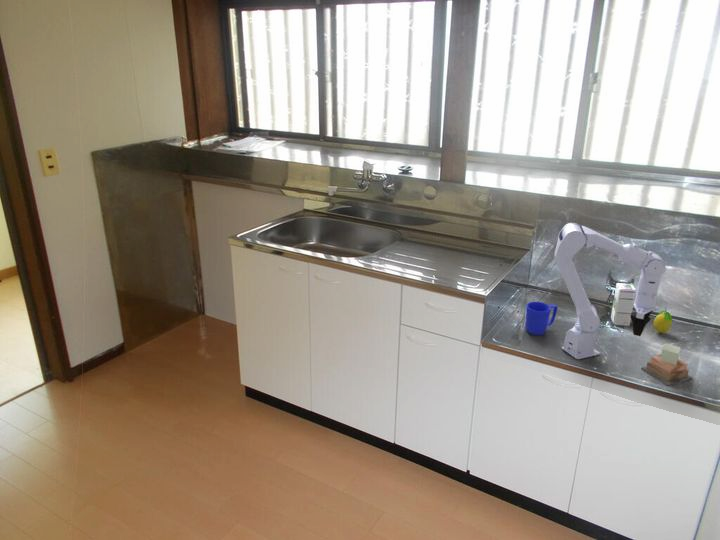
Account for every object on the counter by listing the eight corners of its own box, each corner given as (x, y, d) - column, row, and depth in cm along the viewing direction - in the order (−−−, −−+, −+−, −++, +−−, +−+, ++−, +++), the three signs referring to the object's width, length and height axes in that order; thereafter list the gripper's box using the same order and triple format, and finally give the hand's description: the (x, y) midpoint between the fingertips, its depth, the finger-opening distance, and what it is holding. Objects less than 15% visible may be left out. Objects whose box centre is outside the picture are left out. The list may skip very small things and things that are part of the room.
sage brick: (676, 365, 168) (679, 353, 166) (659, 360, 170) (662, 349, 168) (677, 358, 171) (680, 347, 170) (661, 354, 173) (664, 343, 172)
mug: (561, 333, 197) (565, 307, 193) (533, 339, 193) (536, 313, 189) (545, 323, 204) (549, 298, 200) (518, 328, 200) (521, 303, 196)
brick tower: (667, 385, 166) (671, 371, 164) (640, 369, 175) (644, 355, 173) (691, 379, 170) (695, 365, 168) (664, 363, 178) (667, 349, 176)
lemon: (668, 339, 193) (674, 313, 189) (649, 334, 196) (655, 309, 192) (671, 332, 198) (677, 306, 194) (653, 327, 201) (659, 302, 197)
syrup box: (630, 326, 202) (637, 289, 196) (612, 324, 203) (619, 288, 197) (626, 319, 207) (633, 283, 202) (609, 317, 208) (616, 282, 203)
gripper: (658, 302, 165) (649, 342, 170) (664, 286, 176) (656, 324, 182) (632, 297, 169) (624, 336, 174) (640, 281, 180) (632, 319, 185)
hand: (638, 330), depth 178 cm, fingers open, 7 cm apart
